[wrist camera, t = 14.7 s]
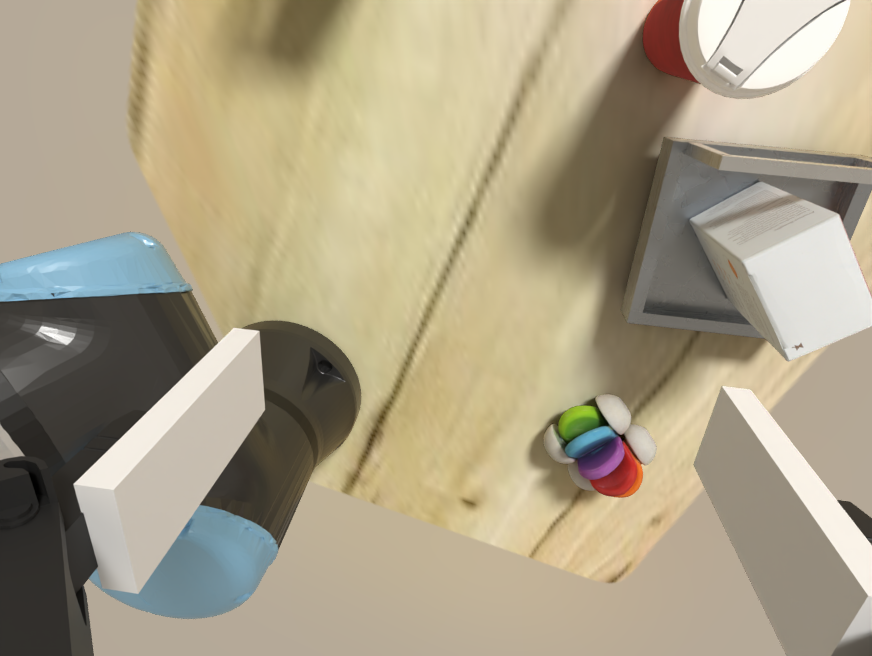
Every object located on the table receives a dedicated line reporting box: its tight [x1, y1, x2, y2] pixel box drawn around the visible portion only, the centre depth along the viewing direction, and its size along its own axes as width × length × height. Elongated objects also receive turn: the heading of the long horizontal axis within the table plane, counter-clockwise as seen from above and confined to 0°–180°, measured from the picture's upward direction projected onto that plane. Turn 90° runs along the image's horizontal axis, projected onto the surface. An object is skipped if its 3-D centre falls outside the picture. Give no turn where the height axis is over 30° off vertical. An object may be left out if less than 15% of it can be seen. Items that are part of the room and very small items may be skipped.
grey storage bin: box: [621, 137, 872, 338], centre depth 39 cm, size 14×14×10 cm
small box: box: [689, 182, 872, 361], centre depth 37 cm, size 8×6×10 cm
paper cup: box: [643, 0, 850, 99], centre depth 32 cm, size 8×8×14 cm
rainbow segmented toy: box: [544, 394, 657, 497], centre depth 50 cm, size 8×10×7 cm
